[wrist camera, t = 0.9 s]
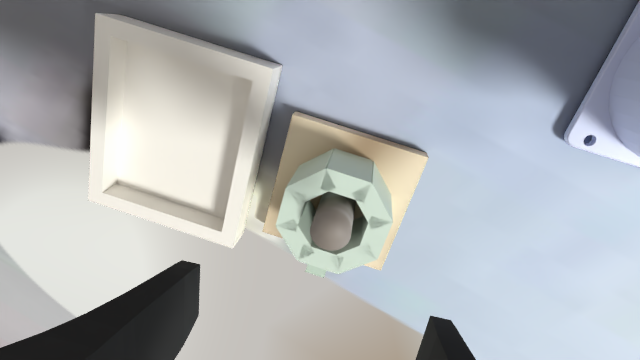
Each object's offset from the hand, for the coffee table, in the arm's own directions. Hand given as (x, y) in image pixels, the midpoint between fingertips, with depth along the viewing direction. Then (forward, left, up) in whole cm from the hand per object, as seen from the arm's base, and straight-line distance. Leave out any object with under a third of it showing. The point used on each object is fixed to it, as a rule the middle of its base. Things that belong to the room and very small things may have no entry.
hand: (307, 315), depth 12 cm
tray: (+9, 0, -10) cm, 13 cm away
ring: (0, 0, -9) cm, 9 cm away
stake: (0, 0, -10) cm, 10 cm away
